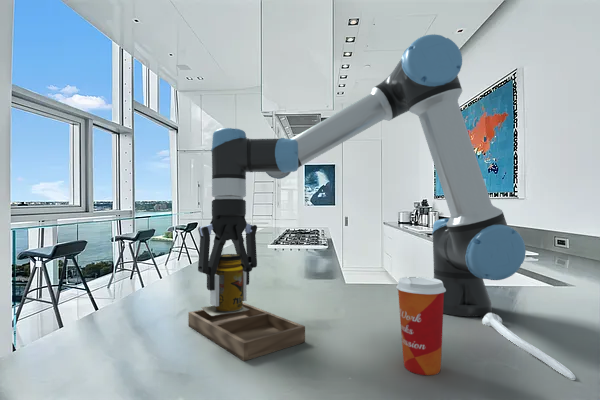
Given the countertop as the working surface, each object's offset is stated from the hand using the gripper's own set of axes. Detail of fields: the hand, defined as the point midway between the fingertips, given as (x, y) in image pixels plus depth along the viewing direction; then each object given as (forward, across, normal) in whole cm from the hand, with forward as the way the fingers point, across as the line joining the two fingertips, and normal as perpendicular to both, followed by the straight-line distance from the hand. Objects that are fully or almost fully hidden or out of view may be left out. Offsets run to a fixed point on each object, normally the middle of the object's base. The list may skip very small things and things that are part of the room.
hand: (228, 302), depth 78 cm
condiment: (+2, +1, 0) cm, 2 cm away
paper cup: (+5, -14, +39) cm, 42 cm away
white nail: (+6, -37, +46) cm, 60 cm away
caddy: (+5, 0, +6) cm, 8 cm away
